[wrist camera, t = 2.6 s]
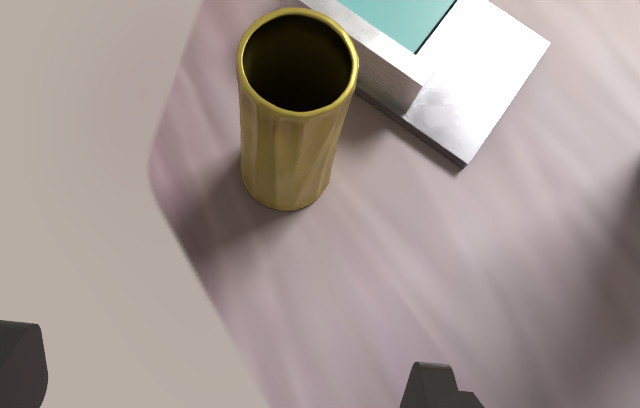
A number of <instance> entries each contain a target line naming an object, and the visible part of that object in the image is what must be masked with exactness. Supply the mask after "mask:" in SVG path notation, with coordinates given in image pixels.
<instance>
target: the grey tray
mask: <svg viewBox="0 0 640 408" xmlns="http://www.w3.org/2000/svg"><path fill="white" fill-rule="evenodd" d="M282 8H305V9H310V10H314V11H317V12H320V13H322V14H324V15H326V16H328V17H330V18H331V19H333V20H334V21H335V22H337V23H338V24H339V25H340V26H341V27H342V28H343V29H344V30H345V31H346V32H347V34H348V35H349V36H350V38H351V40H352V42H353V44H354V47H355V49H356V52H357V55H358V60H359V68H358V75H357V81H356V87H355V91H354V93H356V94H357V95H359V96H360V97H362V98H363V99H364V100H366V101H367V102H369V103H370V104H372V105H373V106H374V107H376V108H377V109H379V110H380V111H382V112H383V113H384V114H386V115H387V116H389V117H390V118H391V119H393V120H394V121H396V122H397V123H399V124H400V125H401V126H403V127H404V128H406V129H407V130H409V131H410V132H411V133H413V134H414V135H416V136H417V137H418V138H420V139H421V140H423V141H424V142H426V143H427V144H428V145H430V146H431V147H433V148H434V149H436V150H437V151H438V152H440V153H441V154H443V155H444V156H446V157H447V158H448V159H450V160H451V161H453V162H454V163H455V164H457V165H458V166H460V167H461V168H463V169H464V168H465V167H466V166H467V165H468V164H469V163H470V161H471V160H472V158H473V157H474V155H475V154H476V152H477V151H478V149H479V148H480V146H481V145H482V143H483V142H484V140H485V139H486V137H487V136H488V134H489V133H490V132H491V130H492V129H493V127H494V126H495V124H496V123H497V121H498V120H499V118H500V117H501V115H502V114H503V112H504V111H505V109H506V108H507V106H508V105H509V103H510V102H511V101H512V99H513V98H514V96H515V95H516V93H517V92H518V90H519V89H520V87H521V86H522V84H523V83H524V81H525V80H526V78H527V77H528V75H529V74H530V73H531V71H532V70H533V68H534V67H535V65H536V64H537V62H538V61H539V59H540V58H541V56H542V55H543V53H544V52H545V50H546V49H547V47H548V46H549V44H550V42H548V41H547V40H545V39H544V38H542V37H541V36H539V35H538V34H536V33H535V32H533V31H532V30H530V29H529V28H527V27H526V26H524V25H523V24H521V23H520V22H518V21H517V20H515V19H514V18H513V17H511V16H510V15H508V14H507V13H505V12H504V11H502V10H501V9H499V8H498V7H496V6H495V5H493V4H492V3H490V2H489V0H456V2H455V3H454V4H453V6H452V7H451V8H450V9H449V11H448V12H447V13H446V15H445V16H444V17H443V19H442V20H441V21H440V22H439V24H438V25H437V26H436V28H435V29H434V30H433V32H432V33H431V34H430V36H429V37H428V38H427V39H426V41H425V42H424V43H423V45H422V46H421V47H420V49H419V50H418V51H417V52H416V54H413V53H412V52H410V51H409V50H407V49H406V48H404V47H403V46H401V45H400V44H399V43H397V42H396V41H394V40H393V39H391V38H390V37H388V36H387V35H386V34H384V33H383V32H381V31H380V30H378V29H377V28H375V27H374V26H373V25H371V24H370V23H368V22H367V21H365V20H364V19H362V18H361V17H359V16H358V15H357V14H355V13H354V12H352V11H351V10H349V9H348V8H346V7H345V6H344V5H342V4H341V3H339V2H338V1H336V0H280V9H282Z"/></svg>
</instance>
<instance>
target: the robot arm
mask: <svg viewBox="0 0 640 408" xmlns="http://www.w3.org/2000/svg"><path fill="white" fill-rule="evenodd" d="M47 384H48V371H47V365H46V359H45V352H44V346H43V339H42V333H41V328H40V326H39V325H38V324H33V323H23V322H13V321H4V320H0V408H40V406H41V404H42V402H43V399H44V396H45V393H46V389H47ZM400 408H484V407H483V405H482V404H481V403H480V401H479V400H478V399H477V397H476V396H475V395H474V393H473V392H465V391H458V388H457V384H456V381H455V377H454V374H453V370H452V368H451V367H450V366H449V365H444V364H435V363H425V362H415V363H414V364H413V366H412V369H411V373H410V376H409V379H408V382H407V385H406V389H405V392H404V395H403V398H402V401H401V405H400Z"/></svg>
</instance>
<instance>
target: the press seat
mask: <svg viewBox="0 0 640 408" xmlns="http://www.w3.org/2000/svg"><path fill="white" fill-rule="evenodd" d="M336 1H338V2H339V3H341V4H342V5H344V6H345V7H346V8H348V9H349V10H351V11H352V12H354V13H355V14H357V15H358V16H359V17H361V18H362V19H364V20H365V21H367V22H368V23H370V24H371V25H373V26H374V27H375V28H377V29H378V30H380V31H381V32H383V33H384V34H386V35H387V36H388V37H390V38H391V39H393V40H394V41H396V42H397V43H399V44H400V45H401V46H403V47H404V48H406V49H407V50H409V51H410V52H412V53H413V54H416V52H417V51H418V50H419V49H420V47H421V46H422V45H423V43H424V42H425V41H426V39H427V38H428V37H429V36H430V34H431V33H432V32H433V30H434V29H435V28H436V26H437V25H438V24H439V22H440V21H441V20H442V19H443V17H444V16H445V15H446V13H447V12H448V11H449V9H450V8H451V7H452V6H453V4H454V3H455V2H456V0H336Z"/></svg>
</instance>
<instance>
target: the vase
mask: <svg viewBox="0 0 640 408" xmlns="http://www.w3.org/2000/svg"><path fill="white" fill-rule="evenodd" d="M358 68H359V60H358V55H357V52H356V49H355V47H354V44H353V42H352V40H351V38H350V36H349V35H348V34H347V32H346V31H345V30H344V29H343V28H342V27H341V26H340V25H339V24H338V23H337V22H335V21H334V20H333V19H331V18H330V17H328V16H326V15H324V14H322V13H320V12H317V11H314V10H310V9H305V8H282V9H278V10H276V11H273V12H270V13H268V14H266V15H264V16H262V17H261V18H259V19H258V20H257V21H255V22H254V23H253V24H252V25H251V26H250V27H249V28H248V30H247V31H246V32H245V33H244V35H243V36H242V38H241V40H240V43H239V46H238V50H237V55H236V71H237V79H238V89H239V103H240V125H241V164H240V169H241V177H242V180H243V183H244V185H245V187H246V188H247V190H248V191H249V193H250V194H251V195H252V197H253V198H255V199H256V200H257V201H259V202H260V203H262V204H264V205H266V206H268V207H270V208H272V209H276V210H283V211H291V210H297V209H301V208H303V207H306V206H308V205H309V204H311V203H313V202H314V201H315V200H317V199H318V198H319V196H320V195H321V194H322V192H323V191H324V190H325V188H326V187H327V185H328V183H329V180H330V174H331V168H332V164H333V160H334V156H335V152H336V148H337V144H338V140H339V136H340V133H341V129H342V126H343V123H344V120H345V117H346V114H347V111H348V108H349V105H350V102H351V99H352V96H353V94H354V91H355V87H356V81H357V75H358Z"/></svg>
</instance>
